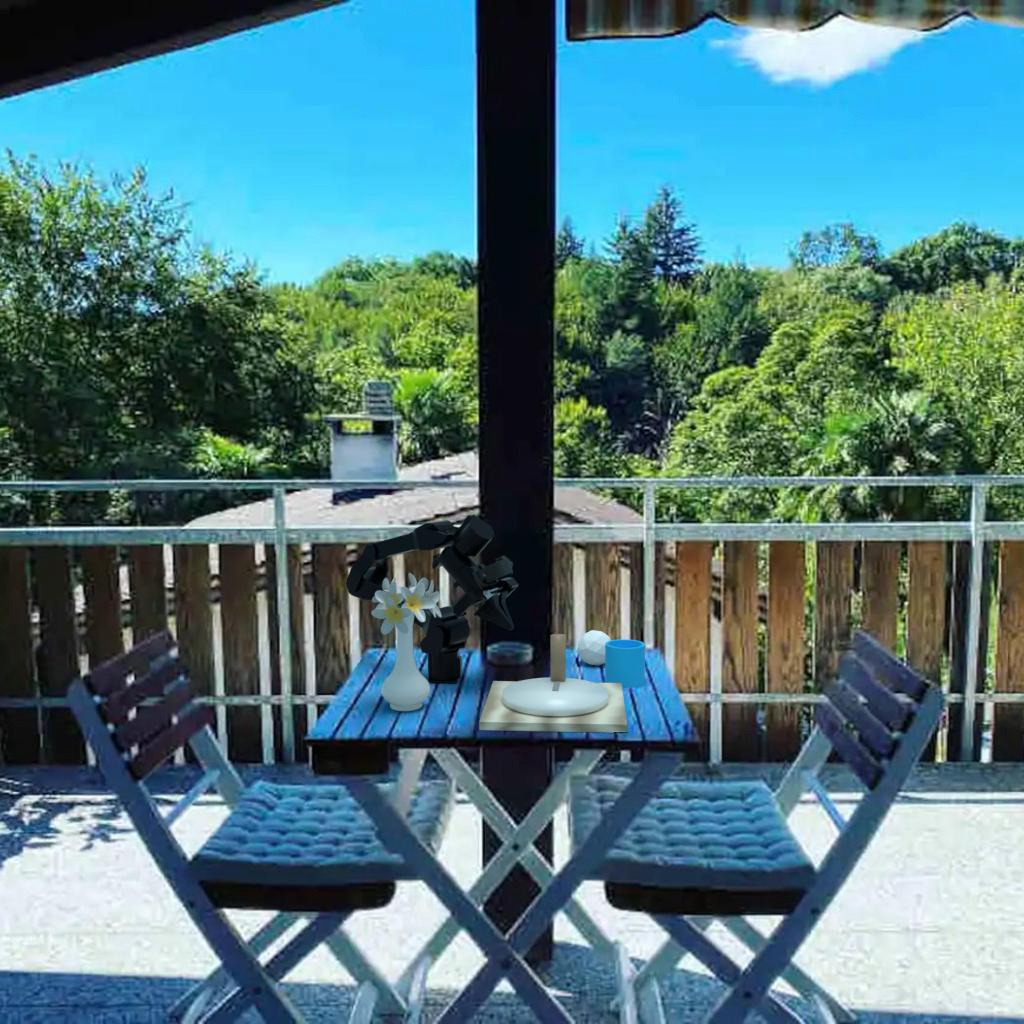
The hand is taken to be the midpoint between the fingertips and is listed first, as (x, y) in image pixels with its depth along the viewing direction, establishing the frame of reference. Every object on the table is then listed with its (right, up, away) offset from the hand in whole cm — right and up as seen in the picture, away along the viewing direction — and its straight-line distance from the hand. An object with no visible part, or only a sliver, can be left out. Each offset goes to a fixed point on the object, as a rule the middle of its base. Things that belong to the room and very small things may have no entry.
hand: (512, 628), depth 195 cm
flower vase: (-20, -14, -10) cm, 26 cm away
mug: (+24, -12, +9) cm, 28 cm away
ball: (+19, -11, +21) cm, 30 cm away
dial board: (+8, -14, -11) cm, 20 cm away
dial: (+8, -12, -11) cm, 18 cm away
